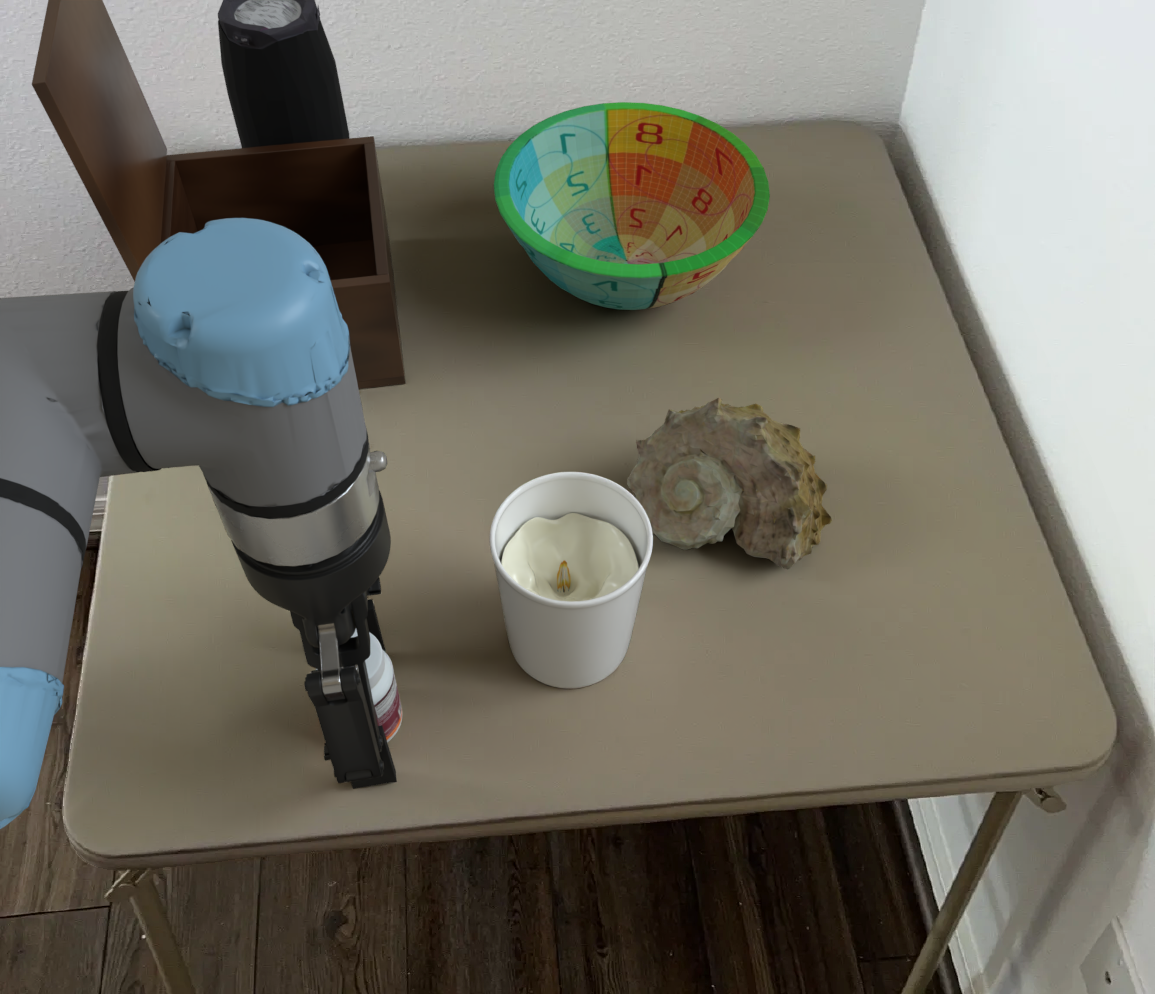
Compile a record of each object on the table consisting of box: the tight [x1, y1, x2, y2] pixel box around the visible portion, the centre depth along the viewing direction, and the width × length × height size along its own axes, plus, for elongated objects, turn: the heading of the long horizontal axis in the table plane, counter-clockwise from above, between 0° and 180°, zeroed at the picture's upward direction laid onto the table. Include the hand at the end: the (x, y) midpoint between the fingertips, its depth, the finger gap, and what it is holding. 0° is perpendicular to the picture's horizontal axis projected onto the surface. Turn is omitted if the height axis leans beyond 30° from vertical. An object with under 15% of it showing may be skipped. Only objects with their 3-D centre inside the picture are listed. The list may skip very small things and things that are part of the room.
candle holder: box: [489, 471, 654, 689], centre depth 72 cm, size 10×10×12 cm
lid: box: [31, 0, 168, 283], centre depth 78 cm, size 18×18×1 cm
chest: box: [161, 135, 407, 390], centre depth 91 cm, size 17×18×11 cm
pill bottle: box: [315, 630, 403, 744], centre depth 70 cm, size 5×5×8 cm
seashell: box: [626, 397, 833, 570], centre depth 80 cm, size 11×14×10 cm
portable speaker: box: [217, 0, 350, 148], centre depth 97 cm, size 9×9×20 cm
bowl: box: [493, 101, 771, 311], centre depth 95 cm, size 22×22×10 cm
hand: (370, 716), depth 73 cm, fingers open, 8 cm apart
